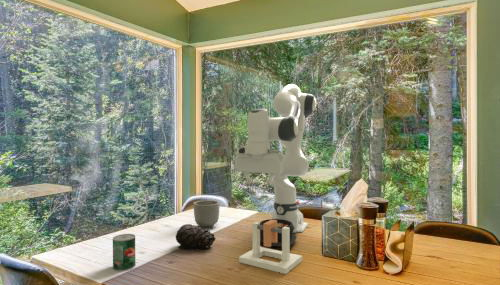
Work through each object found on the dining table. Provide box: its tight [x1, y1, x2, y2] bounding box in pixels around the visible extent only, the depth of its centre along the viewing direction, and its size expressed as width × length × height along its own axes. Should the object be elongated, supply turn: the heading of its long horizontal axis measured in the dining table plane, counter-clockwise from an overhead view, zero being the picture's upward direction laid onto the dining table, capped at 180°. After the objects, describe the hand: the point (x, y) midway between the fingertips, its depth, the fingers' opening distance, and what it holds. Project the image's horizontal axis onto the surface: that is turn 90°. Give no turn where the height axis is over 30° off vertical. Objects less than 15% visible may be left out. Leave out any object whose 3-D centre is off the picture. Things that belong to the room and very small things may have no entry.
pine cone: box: [175, 223, 216, 252], centre depth 137 cm, size 10×18×10 cm, turn 84°
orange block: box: [263, 220, 278, 248], centre depth 120 cm, size 6×2×8 cm, turn 147°
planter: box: [192, 199, 221, 230], centre depth 168 cm, size 14×14×13 cm
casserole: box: [260, 218, 297, 247], centre depth 145 cm, size 25×19×8 cm
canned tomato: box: [112, 233, 136, 272], centre depth 117 cm, size 8×8×11 cm
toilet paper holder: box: [238, 221, 303, 275], centre depth 120 cm, size 20×14×14 cm
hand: (259, 184), depth 124 cm, fingers open, 8 cm apart
